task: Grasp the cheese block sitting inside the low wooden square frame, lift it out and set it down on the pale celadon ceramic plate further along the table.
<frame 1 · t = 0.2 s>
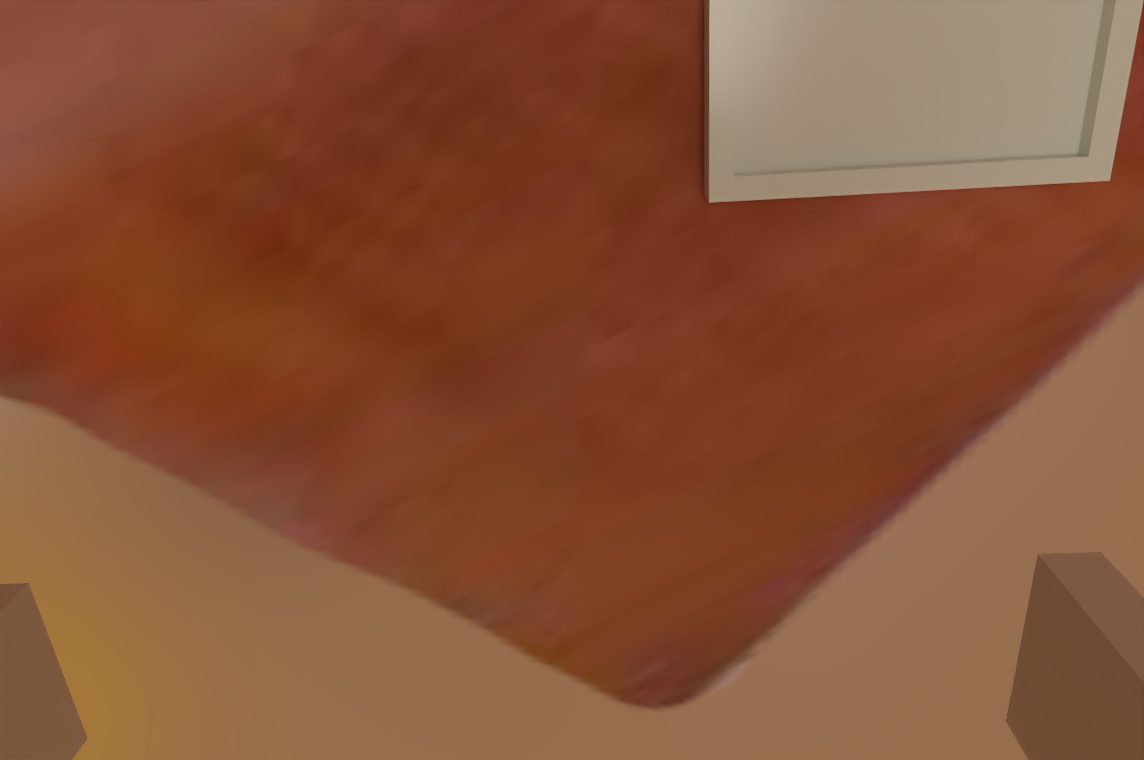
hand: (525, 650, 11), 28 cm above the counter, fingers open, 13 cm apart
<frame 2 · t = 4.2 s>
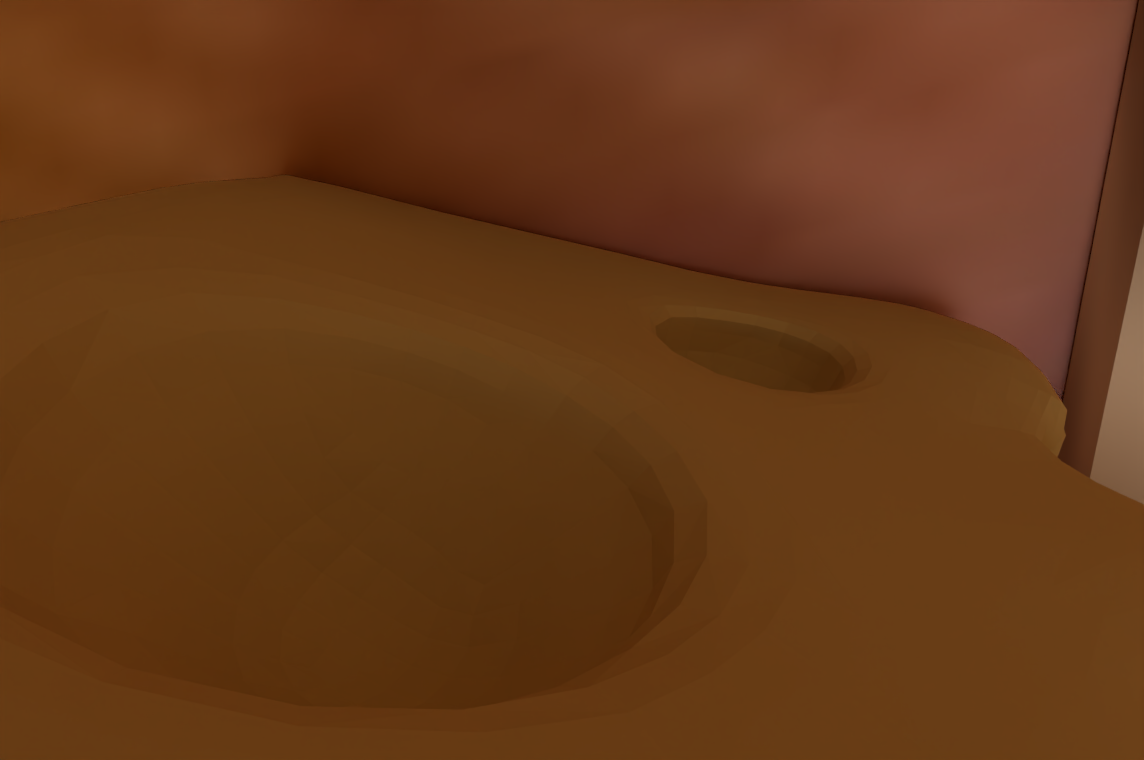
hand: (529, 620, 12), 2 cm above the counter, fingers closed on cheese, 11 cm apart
wooden square frame: (539, 529, 14), on the counter
cheese: (531, 525, 14), resting in wooden square frame, touching gripper
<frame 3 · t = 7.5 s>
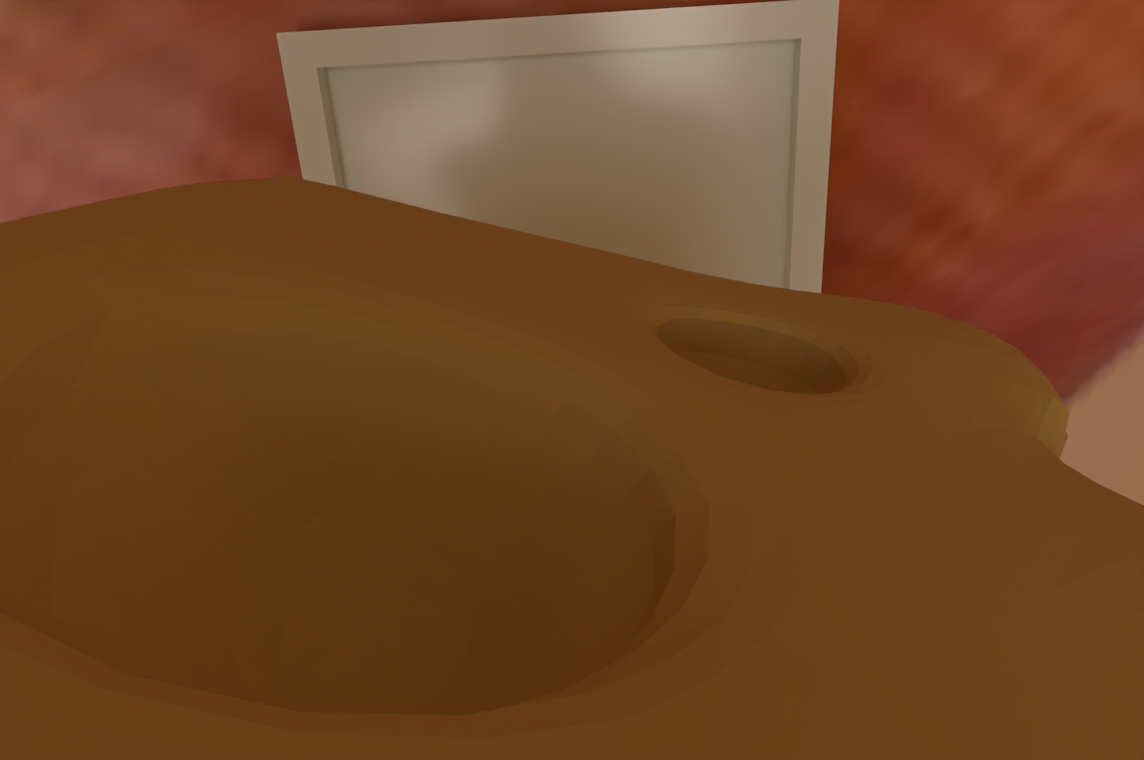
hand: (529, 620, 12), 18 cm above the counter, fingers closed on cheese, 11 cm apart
cheese: (531, 526, 14), point 16 cm above the counter, touching gripper
plate: (571, 271, 28), on the counter
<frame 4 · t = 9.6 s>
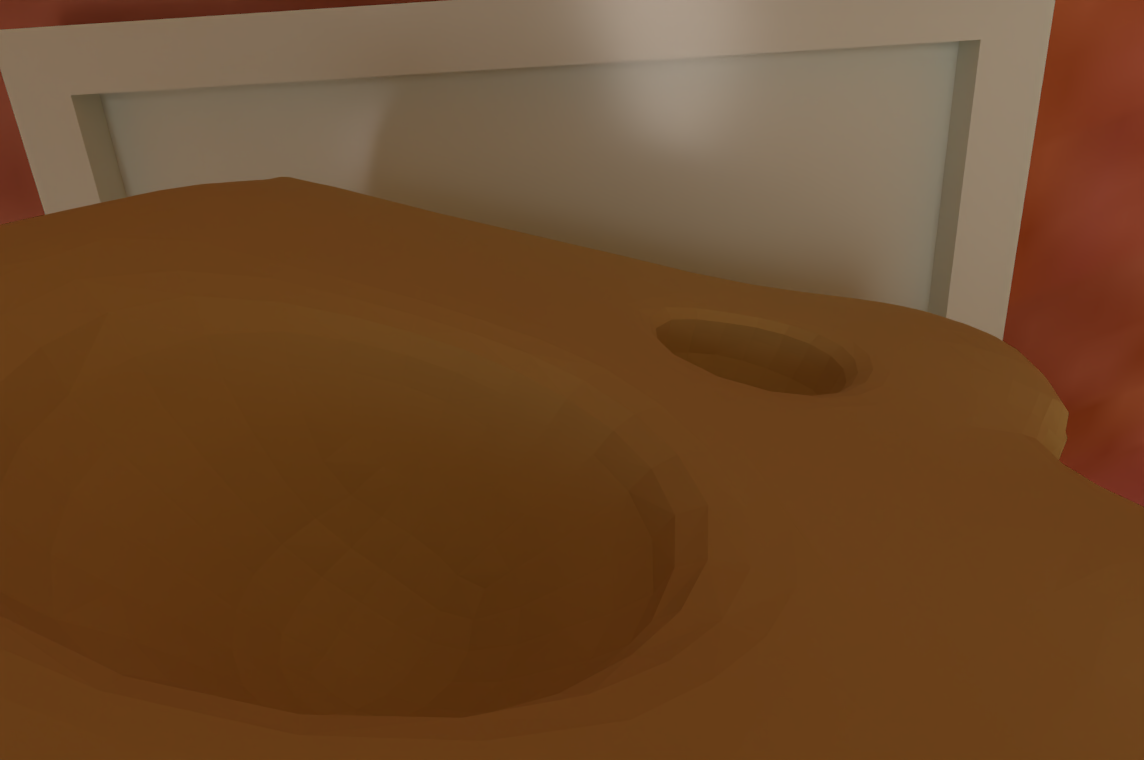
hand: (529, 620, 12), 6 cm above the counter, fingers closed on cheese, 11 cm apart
cheese: (531, 527, 14), point 4 cm above the counter, touching gripper
plate: (550, 425, 17), on the counter
when the fingers open (4 cm above the counter, at t = 11.1 s): cheese stays where it is, resting on plate.
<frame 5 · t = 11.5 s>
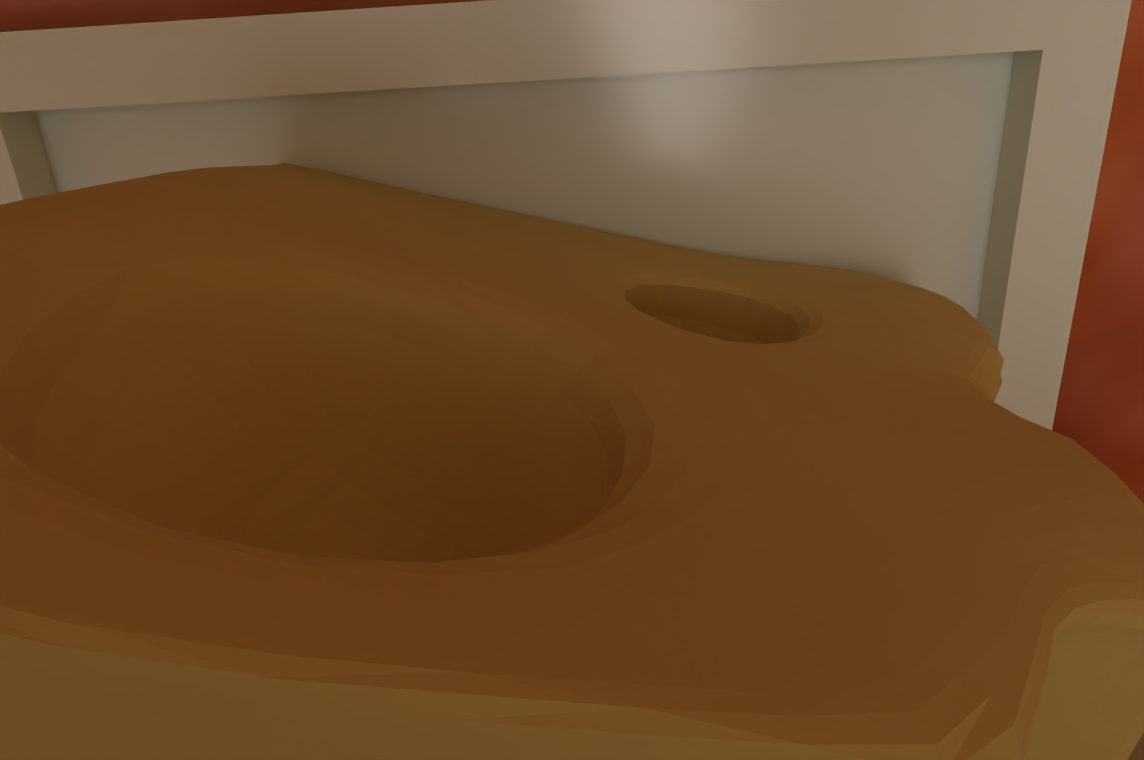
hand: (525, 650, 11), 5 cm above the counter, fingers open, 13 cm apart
cheese: (522, 492, 15), point 1 cm above the counter, touching plate
plate: (547, 475, 15), on the counter
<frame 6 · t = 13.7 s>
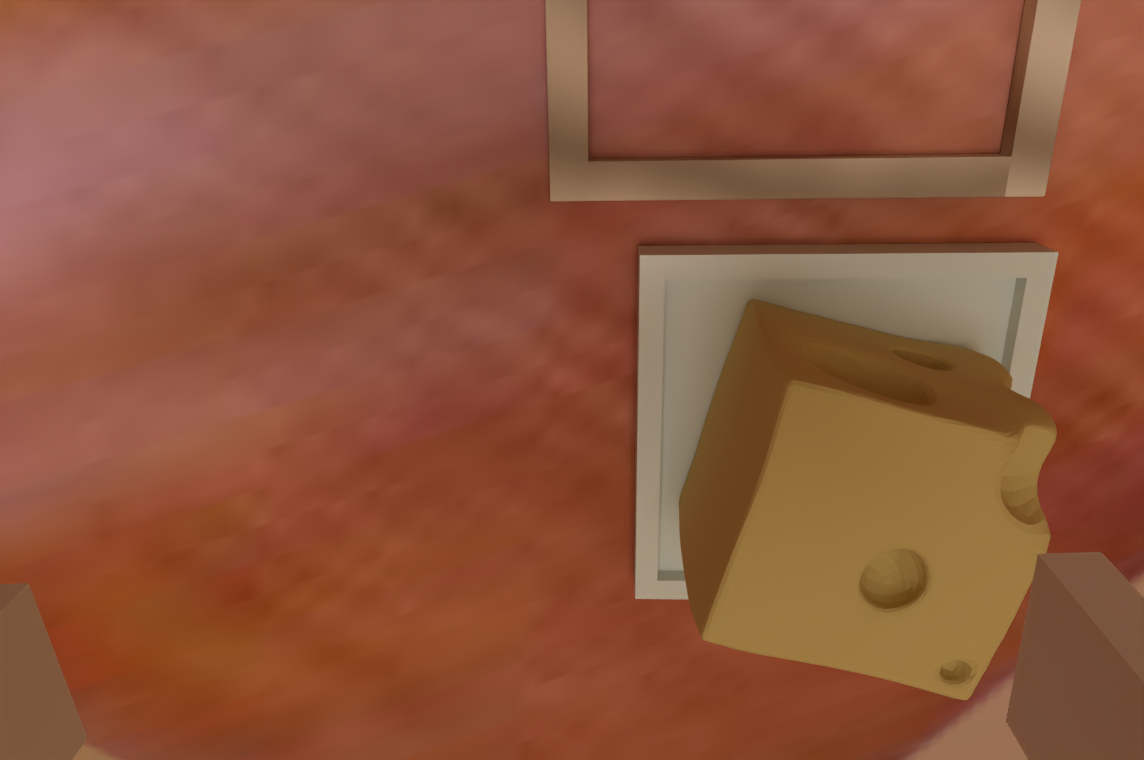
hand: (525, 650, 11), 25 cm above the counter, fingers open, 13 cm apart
cheese: (813, 428, 36), point 1 cm above the counter, touching plate
plate: (817, 423, 37), on the counter
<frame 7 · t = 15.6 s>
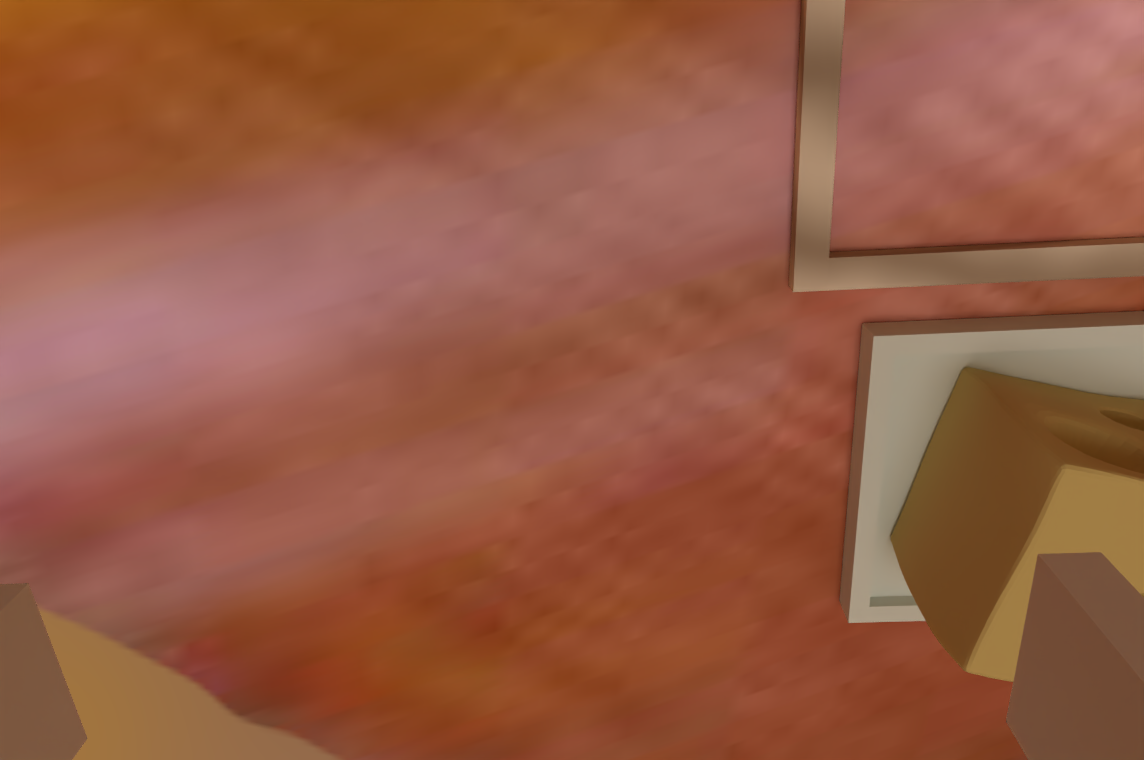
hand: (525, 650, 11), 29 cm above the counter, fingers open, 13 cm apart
wooden square frame: (1033, 39, 34), on the counter
cheese: (1011, 472, 41), point 1 cm above the counter, touching plate
plate: (1011, 466, 42), on the counter
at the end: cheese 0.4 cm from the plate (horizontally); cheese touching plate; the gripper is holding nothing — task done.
